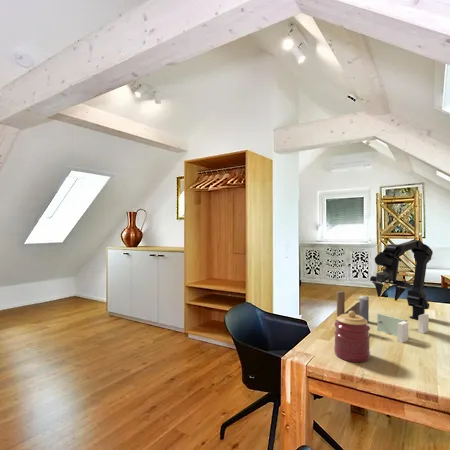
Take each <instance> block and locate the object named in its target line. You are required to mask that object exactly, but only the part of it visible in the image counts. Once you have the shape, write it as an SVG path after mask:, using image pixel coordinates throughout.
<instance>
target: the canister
mask: <svg viewBox="0 0 450 450" xmlns="http://www.w3.org/2000/svg"><path fill="white" fill-rule="evenodd" d="M336 320H338V321H336ZM336 320H335V321H336V322H334V324H333V325H334V327H335V326H336V327H335V330H334V332H333V333H334V348H333V350H334V354H335V356H336V357H337V358H338V359H339V358H340V359H341V360H344V361H348V362H350V363H351V362H353V363H364V362H365V363H366V362H368V361H369V360H370V356H371V351H370V338H371V335H370V334H369V331H370V329H371V327H370V325H368V323H369V322H368V321H367V320H366V319H364V318H363V317H362V316H360V315H356V314H355V312H354V311H349V313H348V314H342V315H340V316H338V317H337V316H336Z"/></svg>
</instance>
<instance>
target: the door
mask: <svg viewBox="0 0 450 450" xmlns="http://www.w3.org/2000/svg"><path fill="white" fill-rule="evenodd" d="M376 317H377V319H376V320H377V330H376V331H380V332H383V333H385V334H389V335H392V336H395V337H396V336H397V337H398V323H400V322H403V321H405V322H408V320H406V319H402V318H399V317H394V316H391V315H387V314H383V313H377V316H376Z"/></svg>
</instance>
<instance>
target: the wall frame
mask: <svg viewBox="0 0 450 450" xmlns="http://www.w3.org/2000/svg"><path fill="white" fill-rule="evenodd" d="M429 315H430V314H428V313H425V314H422V315H419V316H418V319H417V320H418V321H417V322H418V323H417V324H418V326H417V327H418V330H417V333H418V334H419V333H420V334H425V333H428V332H429V327H430V325H429V320H430V319H429V317H430V316H429ZM407 341H409V321H407V322H405V321H403V322H400V323H398V336H397V343H398V342H399V343H401V344H402V343H405V342H407Z"/></svg>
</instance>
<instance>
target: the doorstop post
mask: <svg viewBox="0 0 450 450" xmlns="http://www.w3.org/2000/svg"><path fill="white" fill-rule="evenodd" d="M358 299H359V302H360V316H362V317H363V318H364V319H366V320H367V321H368V323H369V318H370V317H369V314H370V313H369V306H370V305H369V304H370V303H369V299H370V298H369V296H366V295H365V296H364V295H360V296H359V297H358Z"/></svg>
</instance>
